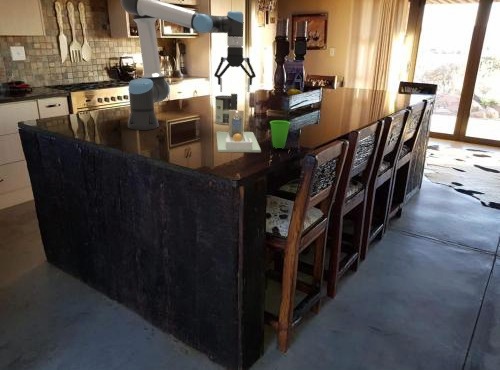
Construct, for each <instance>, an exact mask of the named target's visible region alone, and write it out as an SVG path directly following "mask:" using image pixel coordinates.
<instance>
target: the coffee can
mask: <svg viewBox="0 0 500 370" xmlns="http://www.w3.org/2000/svg"><path fill="white" fill-rule="evenodd" d="M214 98H215V124H218V125H229V110H231V95H216V96H214Z"/></svg>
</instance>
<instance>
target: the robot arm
mask: <svg viewBox="0 0 500 370" xmlns="http://www.w3.org/2000/svg"><path fill="white" fill-rule="evenodd" d="M120 5H121V7H122V9H123V10H124V11H125V12H126V13H128V15H132V19H133V21H134V22H135V23H136V26H137V31H138V32H137V33H138V39H139V46H140V53H141V59H142V67H143V68H142V69H143V75H142V76H141V78H135V79H132V80H130V81H129V82H128V94H129V96H128V98H129V108H130V113H129V117H128V119H127V120H128V121H127V128H128V129H131V130H137V131H143V130H144V131H146V130H154V129H157V127H158V128H159V126H160V125H159V120H158V117H157V116H156V112H155V104H156V103H160V102H163V101H164V100H166V99H167V98H168V97H169V95H170V92H171V91H170V90H171V89H170V85H169V82H168V81H167V80H166V79H165V78H166V77H165V75H164V74H163V73H162V70H161V69H162V68H161V63H160V62H161V61H160V56H159V55H160V54H159V47H158V39H157V31H156V21H157V20H161V21H165V22H168V23H171V24H175V25H178V26H182V27H184V28H188V29H192V30H194V31H196V32H199V33H202V34H207V33H209V34H226V35H227V40H226V42H227V43H226V44H227V46H228V47H227V50H226V51H227V56H226V57H223V56H221V57H220V62H219V64H218V66H217V67H216V70H215V72H214V73H213V75H214V78H217V84H218V86H220V88H219V89H220V90H219V91H220V93H222V92H223V78H222V76H223V75H224V74H225V73H226V71H227V70H228V69H229V68H230V67H231V68H234V67H235V68H239V67H241V69H242V70H243V72H244V73H245V74H246V76H248V77H247V90H246V91H247V92H248V93H250V92H251V91H250V90H251V89H250V87H251V86H253V85H252V84H253V79H254V78H256V73H255V71H254V69H253V67H252V64H251V63H250V61H251V60H250V57H244V48H243V46H244V23H245V22H244V13H243V12H242V11H235V10H233V11H231V10H230V11H227V14H226V15H212V14H205V13H202V12H199V11H195V10H192V9H189V8H187V7H181V6H179V5H175V4H172V3H168V2H166V1H165V2H164V1H161V0H120ZM225 61H226V62H227V64H226V65H225V67H224V68H223V69H222V66H223V64H224V63H225ZM244 61H245V63H246V64H247V67H248V68H249V71H250V72H251V73H249V71H248V70H247V69H246V67H245V66H244V65H243V62H244ZM221 69H222V71H220V70H221ZM219 72H220V73H219Z"/></svg>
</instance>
